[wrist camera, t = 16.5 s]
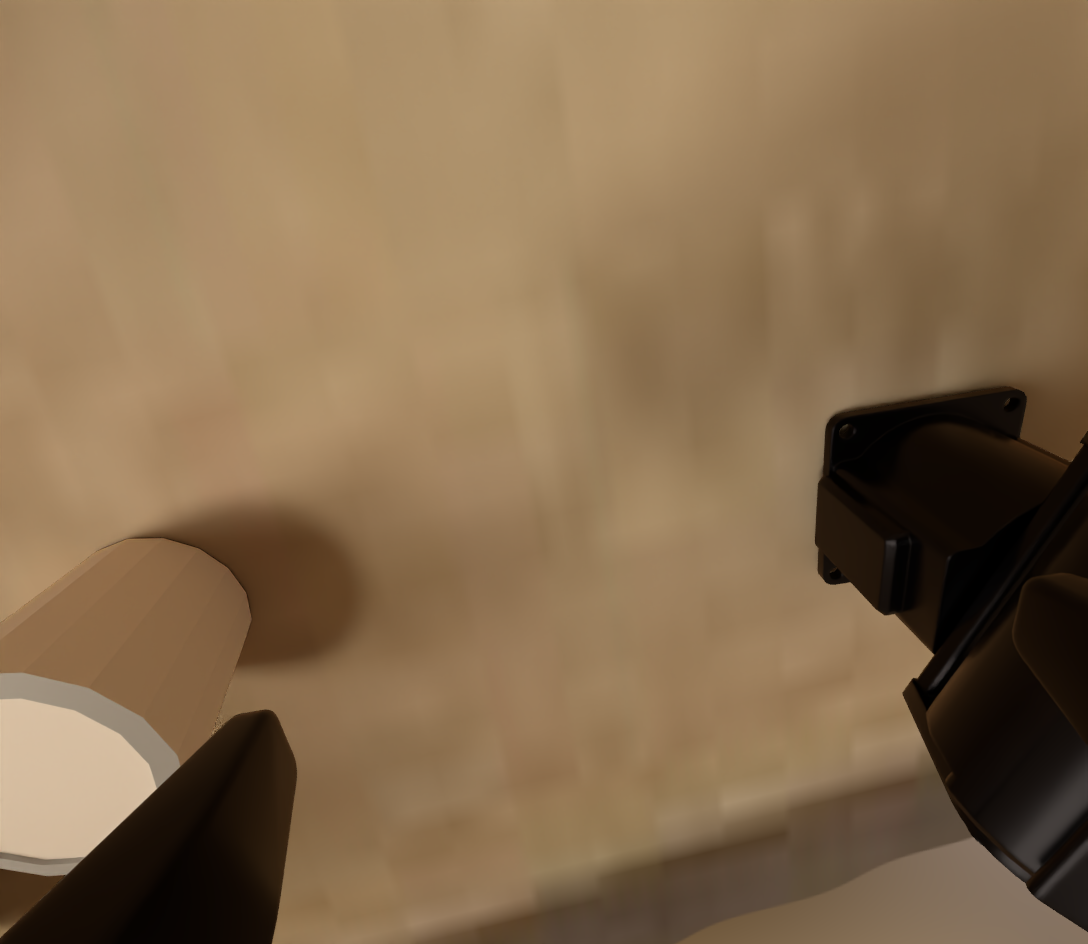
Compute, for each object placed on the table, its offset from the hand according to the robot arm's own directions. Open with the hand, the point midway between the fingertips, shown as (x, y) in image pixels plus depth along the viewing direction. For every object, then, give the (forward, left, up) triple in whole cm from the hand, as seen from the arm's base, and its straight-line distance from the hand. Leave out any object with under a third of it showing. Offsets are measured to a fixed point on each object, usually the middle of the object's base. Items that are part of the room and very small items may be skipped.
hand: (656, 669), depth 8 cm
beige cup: (+14, +6, -13) cm, 20 cm away
